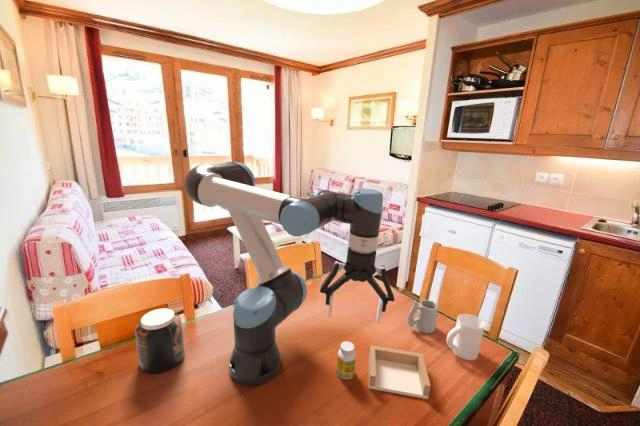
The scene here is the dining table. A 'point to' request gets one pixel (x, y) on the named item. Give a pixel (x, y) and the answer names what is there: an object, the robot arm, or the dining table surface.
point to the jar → (159, 341)
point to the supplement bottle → (346, 360)
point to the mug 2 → (466, 336)
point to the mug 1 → (424, 316)
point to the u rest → (398, 372)
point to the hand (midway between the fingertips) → (353, 317)
